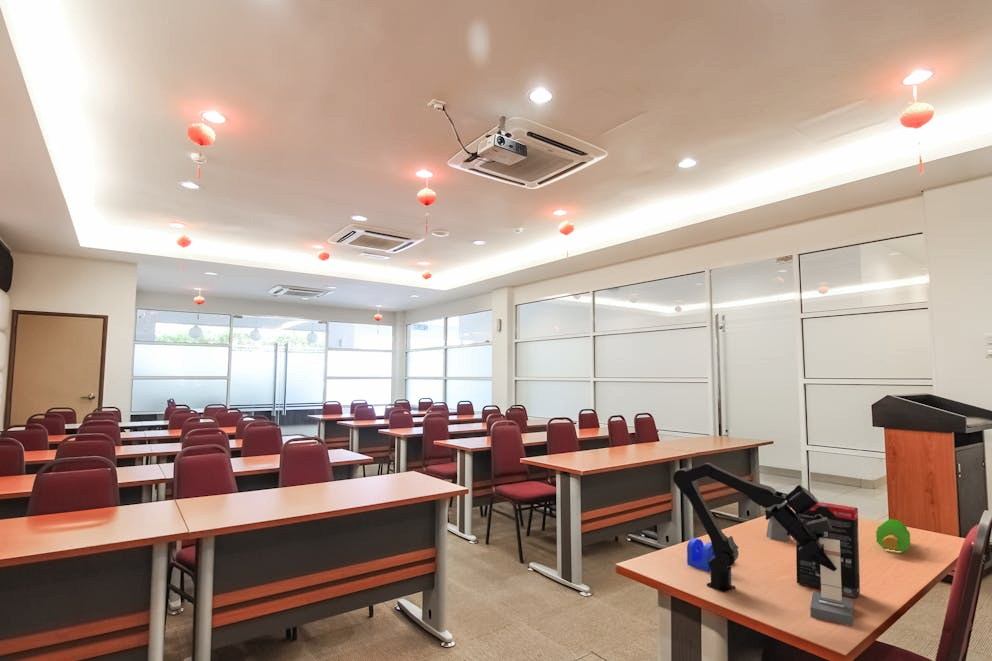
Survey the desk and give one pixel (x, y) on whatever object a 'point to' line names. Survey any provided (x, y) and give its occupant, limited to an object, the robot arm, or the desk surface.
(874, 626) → the desk surface
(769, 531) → the coffeepot
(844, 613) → the base
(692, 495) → the robot arm
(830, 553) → the strip
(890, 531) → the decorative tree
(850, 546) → the graphics card box
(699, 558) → the bracket
